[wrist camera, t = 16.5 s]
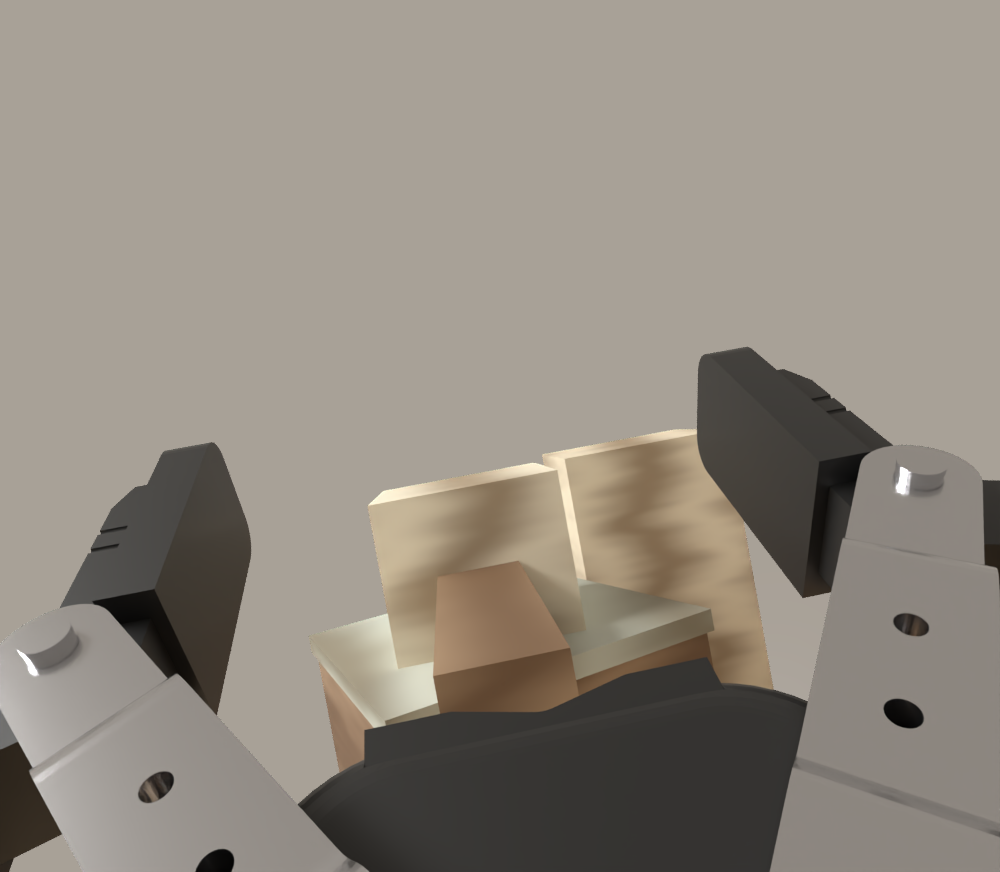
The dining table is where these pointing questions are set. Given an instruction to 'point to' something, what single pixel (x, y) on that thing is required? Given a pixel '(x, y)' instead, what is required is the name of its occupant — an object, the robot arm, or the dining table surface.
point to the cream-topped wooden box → (411, 690)
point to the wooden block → (666, 538)
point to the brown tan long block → (482, 587)
